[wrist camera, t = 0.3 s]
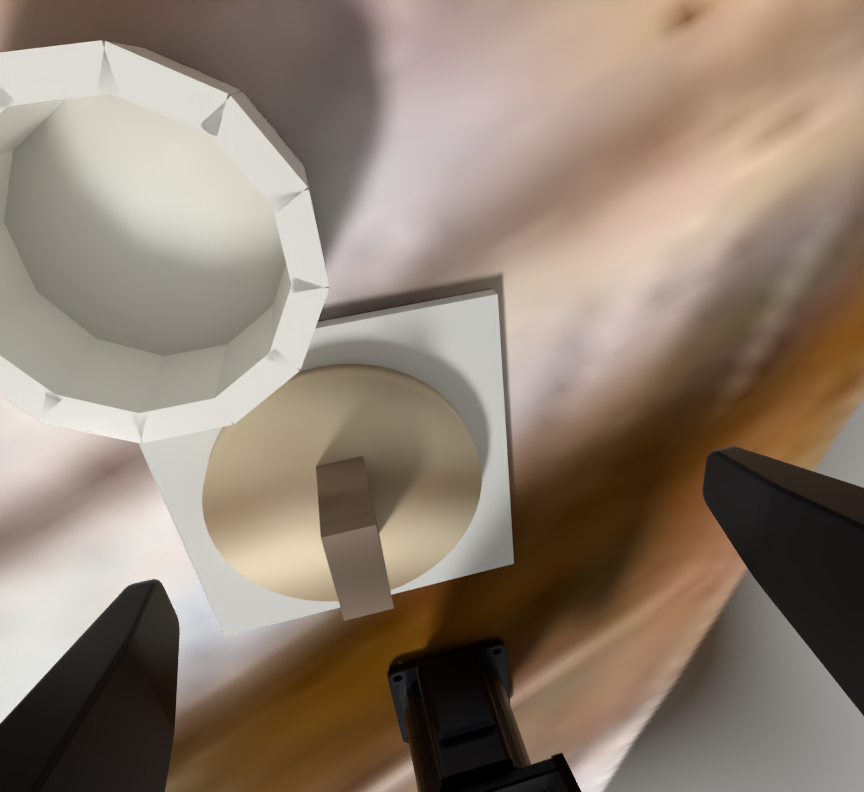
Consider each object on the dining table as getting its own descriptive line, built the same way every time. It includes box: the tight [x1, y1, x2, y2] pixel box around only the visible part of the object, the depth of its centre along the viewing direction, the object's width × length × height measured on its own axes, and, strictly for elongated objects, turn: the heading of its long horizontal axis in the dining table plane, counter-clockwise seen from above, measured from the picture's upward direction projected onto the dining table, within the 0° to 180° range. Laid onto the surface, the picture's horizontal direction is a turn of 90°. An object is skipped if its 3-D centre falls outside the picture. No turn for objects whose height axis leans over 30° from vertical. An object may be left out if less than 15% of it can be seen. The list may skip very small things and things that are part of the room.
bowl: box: [0, 40, 329, 443], centre depth 17 cm, size 10×10×4 cm
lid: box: [202, 364, 482, 621], centre depth 22 cm, size 11×11×5 cm
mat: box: [139, 289, 514, 637], centre depth 25 cm, size 14×14×1 cm
